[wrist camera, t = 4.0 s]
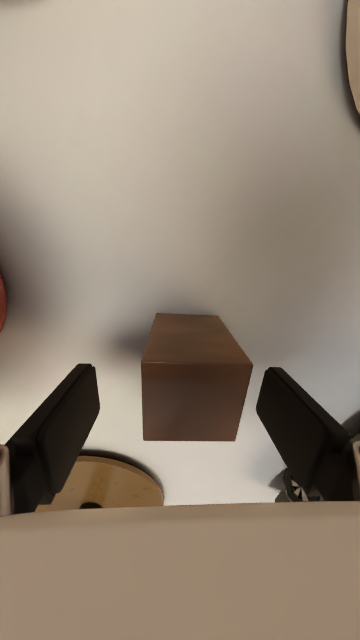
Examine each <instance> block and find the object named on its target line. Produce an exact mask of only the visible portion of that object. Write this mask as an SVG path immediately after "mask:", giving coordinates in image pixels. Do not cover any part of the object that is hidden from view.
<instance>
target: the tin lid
mask: <svg viewBox="0 0 360 640" xmlns="http://www.w3.org/2000/svg"><path fill="white" fill-rule="evenodd" d="M163 504H164V501H163V495H162V491H161V489H160V488H159V486H158V485H157V483H156V482H155V481H154V480H153V479H152V478H151V477H150V476H149V475H147V474H146V473H144V472H143V471H141V470H139V469H138V468H136V467H134V466H131V465H129V464H126V463H124V462H120V461H117V460H113V459H108V458H103V457H95V456H78V458H77V460H76V462H75V464H74V466H73V468H72V470H71V472H70V475H69V477H68V479H67V481H66V483H65V485H64V487H63V489H62V491H61V492H60V493H56V495H55V497H54V499H53V501H52V503H51V505H38V506H37V508H36V510H35V512H44V511H61V510H77V509H97V508H123V507H149V506H163Z"/></svg>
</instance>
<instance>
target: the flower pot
mask: <svg viewBox="0 0 360 640" xmlns="http://www.w3.org/2000/svg"><path fill="white" fill-rule="evenodd" d="M6 311H7V301H6V291H5V287H4V283H3V279H2V276H1V273H0V332H1V330H2V328H3V325H4V322H5V318H6Z"/></svg>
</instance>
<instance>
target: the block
mask: <svg viewBox="0 0 360 640" xmlns="http://www.w3.org/2000/svg"><path fill="white" fill-rule="evenodd" d="M252 369H253V363H252V362H251V361H250V359H249V358H248V356H247V355H246V354H245V352H244V351H243V350H242V348H241V347H240V345H239V344H238V343H237V341H236V340H235V339H234V337H233V336H232V334H231V333H230V332H229V330H228V329H227V328H226V326H225V325H224V323H223V322H222V321H221V319H220V318H219V316H208V315H185V314H161V313H157V314H156V316H155V319H154V322H153V326H152V329H151V332H150V335H149V338H148V341H147V344H146V348H145V351H144V354H143V357H142V360H141V380H142V415H143V440H144V441H235V439H236V435H237V431H238V427H239V423H240V418H241V414H242V410H243V406H244V402H245V398H246V394H247V389H248V385H249V381H250V377H251V373H252Z"/></svg>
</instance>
